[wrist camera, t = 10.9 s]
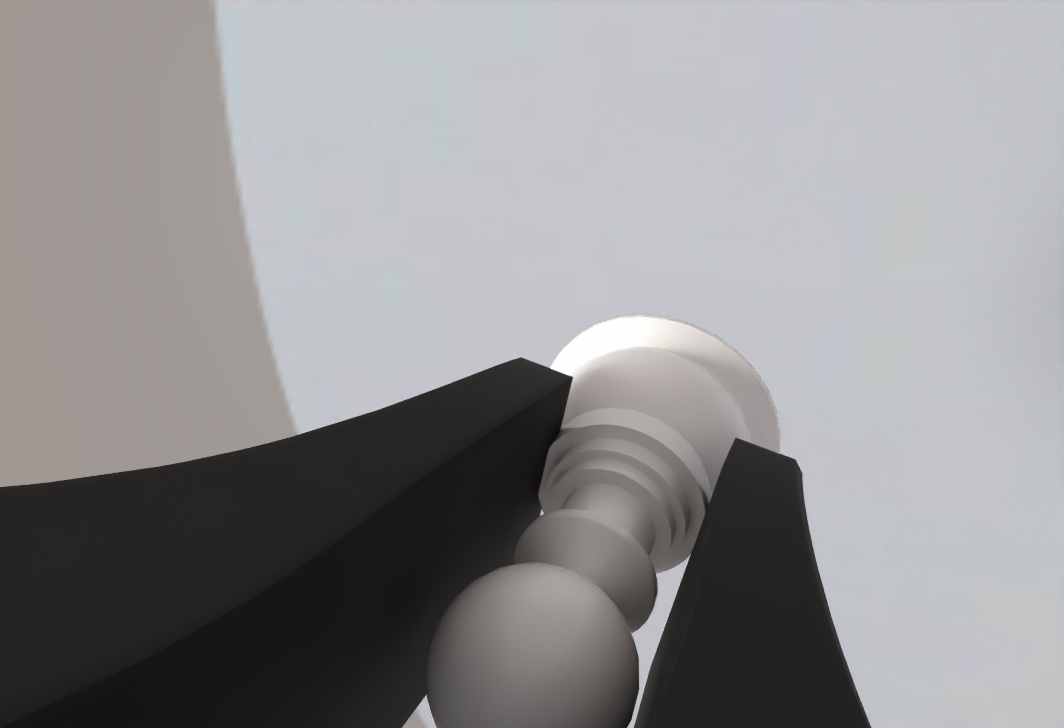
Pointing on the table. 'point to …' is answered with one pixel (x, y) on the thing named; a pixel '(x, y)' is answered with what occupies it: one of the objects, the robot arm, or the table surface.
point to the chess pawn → (599, 529)
